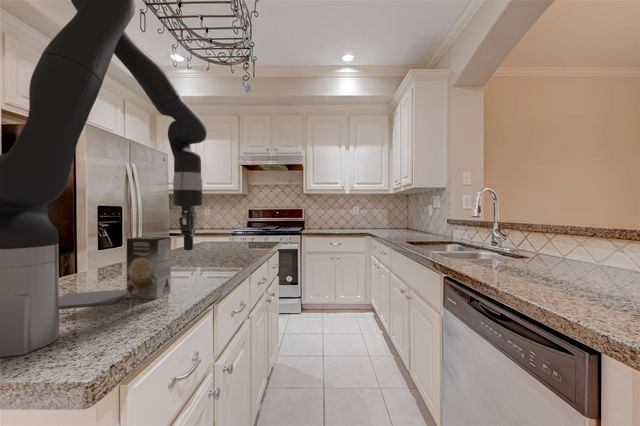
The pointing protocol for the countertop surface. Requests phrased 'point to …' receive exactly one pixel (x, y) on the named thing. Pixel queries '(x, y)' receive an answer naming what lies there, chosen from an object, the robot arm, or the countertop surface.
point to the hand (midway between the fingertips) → (188, 249)
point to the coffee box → (148, 267)
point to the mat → (91, 298)
